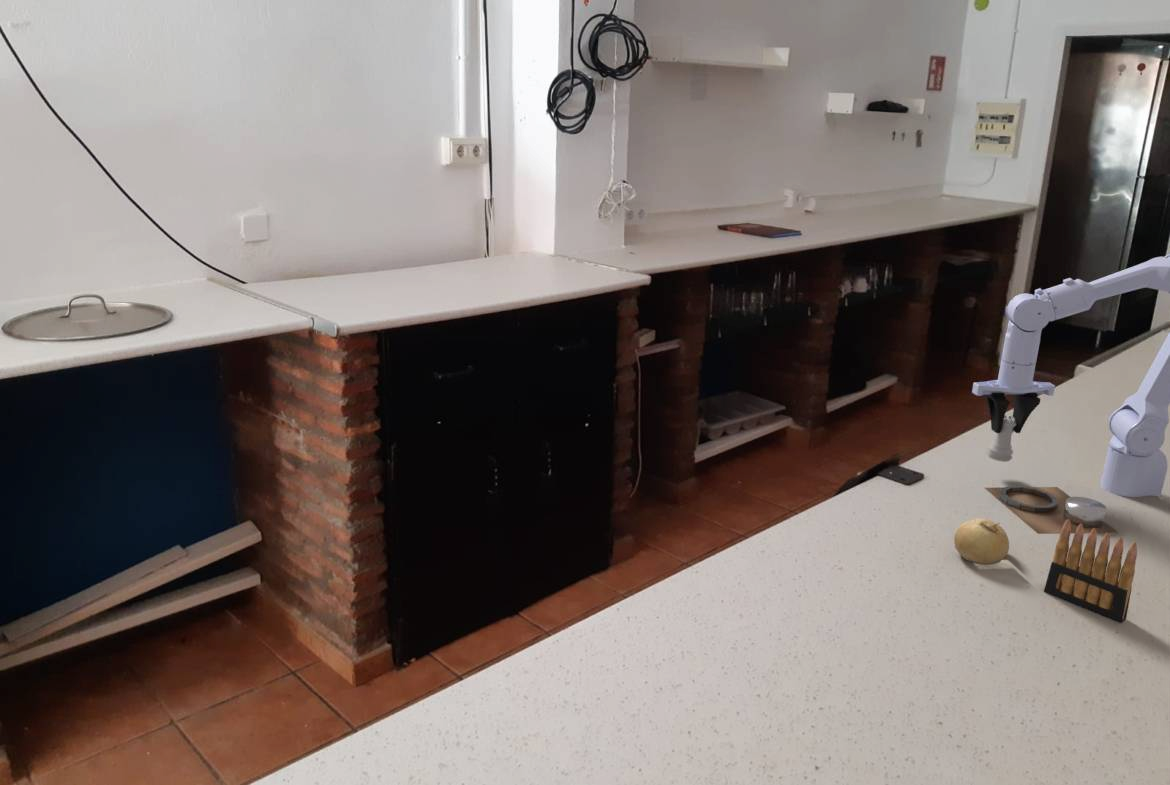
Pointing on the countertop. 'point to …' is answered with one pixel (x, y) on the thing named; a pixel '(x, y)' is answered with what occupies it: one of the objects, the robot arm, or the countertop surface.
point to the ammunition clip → (1092, 574)
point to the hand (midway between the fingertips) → (1005, 431)
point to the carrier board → (1045, 521)
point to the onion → (981, 541)
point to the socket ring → (1028, 507)
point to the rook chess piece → (1003, 442)
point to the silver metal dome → (1084, 512)
